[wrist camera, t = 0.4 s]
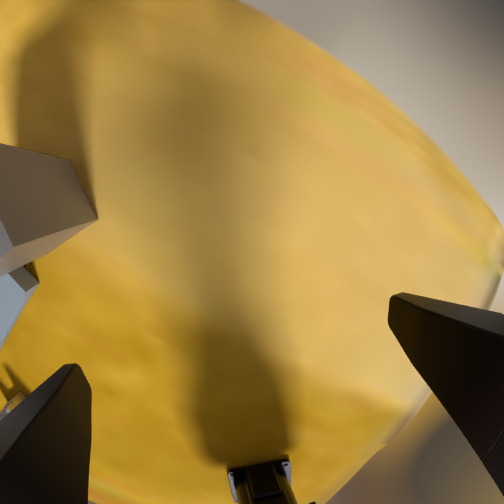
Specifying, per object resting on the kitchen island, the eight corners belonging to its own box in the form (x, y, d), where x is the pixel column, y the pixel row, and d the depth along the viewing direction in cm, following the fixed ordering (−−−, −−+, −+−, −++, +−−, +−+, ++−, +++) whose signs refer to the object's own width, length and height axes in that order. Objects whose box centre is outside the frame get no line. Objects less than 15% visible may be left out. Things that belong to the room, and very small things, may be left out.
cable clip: (49, 420, 22) (40, 439, 20) (35, 430, 22) (25, 448, 19) (20, 390, 21) (8, 408, 19) (7, 401, 21) (-5, 418, 18)
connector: (98, 219, 21) (0, 252, 8) (48, 253, 20) (-61, 311, 8) (69, 160, 20) (-43, 134, 7) (20, 196, 19) (-100, 208, 7)
